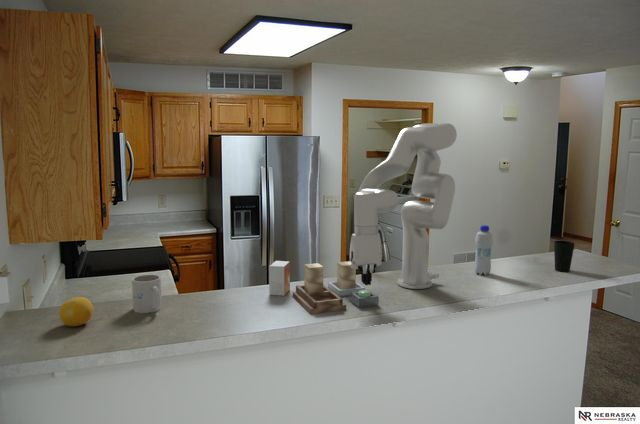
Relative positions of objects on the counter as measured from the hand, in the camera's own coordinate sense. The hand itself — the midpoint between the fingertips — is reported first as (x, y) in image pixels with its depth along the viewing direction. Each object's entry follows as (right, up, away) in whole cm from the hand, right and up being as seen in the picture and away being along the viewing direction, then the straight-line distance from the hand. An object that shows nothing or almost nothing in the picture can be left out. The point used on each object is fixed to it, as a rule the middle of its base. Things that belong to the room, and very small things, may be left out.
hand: (366, 283), depth 164 cm
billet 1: (-18, -4, +5) cm, 19 cm away
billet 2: (-6, -4, +14) cm, 16 cm away
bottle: (+50, -2, +37) cm, 63 cm away
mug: (-69, -7, -7) cm, 70 cm away
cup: (+86, -1, +43) cm, 96 cm away
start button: (-1, -6, 0) cm, 6 cm away
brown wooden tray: (-16, -6, +1) cm, 17 cm away
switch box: (-1, -6, 0) cm, 7 cm away
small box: (-30, -5, +12) cm, 32 cm away
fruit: (-86, -9, -20) cm, 89 cm away
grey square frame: (-6, -4, +14) cm, 16 cm away
